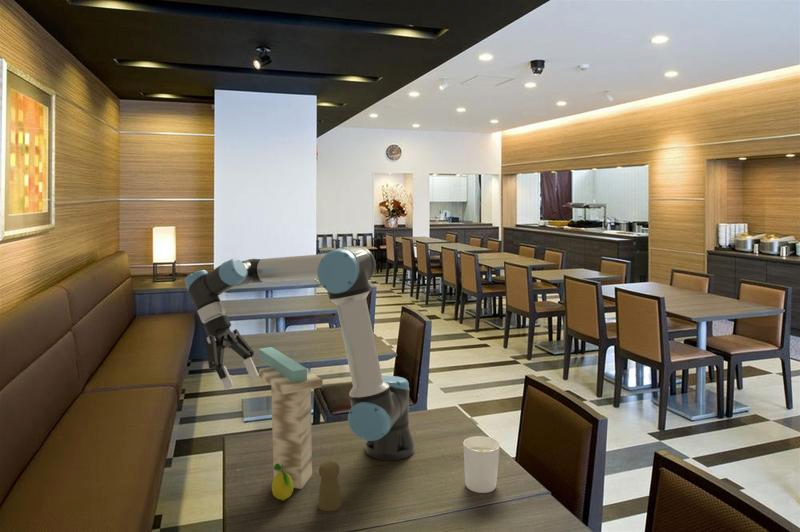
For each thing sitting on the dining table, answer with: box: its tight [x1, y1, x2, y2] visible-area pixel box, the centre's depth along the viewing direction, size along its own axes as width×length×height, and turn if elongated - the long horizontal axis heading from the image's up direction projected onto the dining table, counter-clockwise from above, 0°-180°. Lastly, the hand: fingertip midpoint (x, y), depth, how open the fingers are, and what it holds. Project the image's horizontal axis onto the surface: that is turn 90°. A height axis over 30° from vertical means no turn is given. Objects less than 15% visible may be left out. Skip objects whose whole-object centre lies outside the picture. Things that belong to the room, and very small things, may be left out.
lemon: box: [271, 463, 294, 502], centre depth 146 cm, size 7×6×10 cm
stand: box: [258, 366, 324, 490], centre depth 156 cm, size 11×18×30 cm, turn 33°
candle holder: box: [462, 435, 501, 494], centre depth 154 cm, size 10×10×12 cm
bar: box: [258, 346, 308, 382], centre depth 159 cm, size 26×4×3 cm, turn 33°
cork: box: [317, 460, 342, 512], centre depth 144 cm, size 6×6×11 cm
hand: (243, 382), depth 171 cm, fingers open, 13 cm apart
